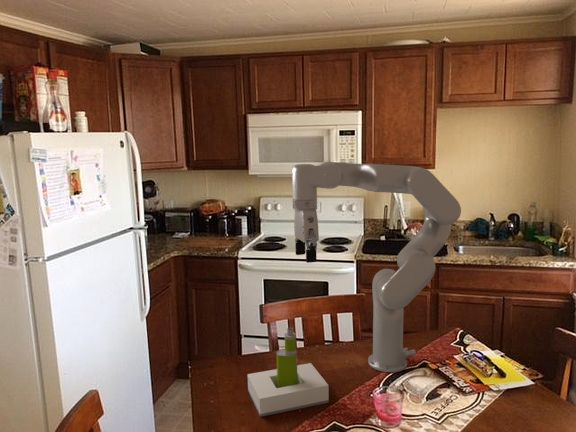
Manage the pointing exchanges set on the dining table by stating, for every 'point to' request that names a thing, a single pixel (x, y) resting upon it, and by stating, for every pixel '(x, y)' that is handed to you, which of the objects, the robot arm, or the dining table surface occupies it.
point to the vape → (287, 361)
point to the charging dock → (287, 391)
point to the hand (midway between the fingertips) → (305, 258)
